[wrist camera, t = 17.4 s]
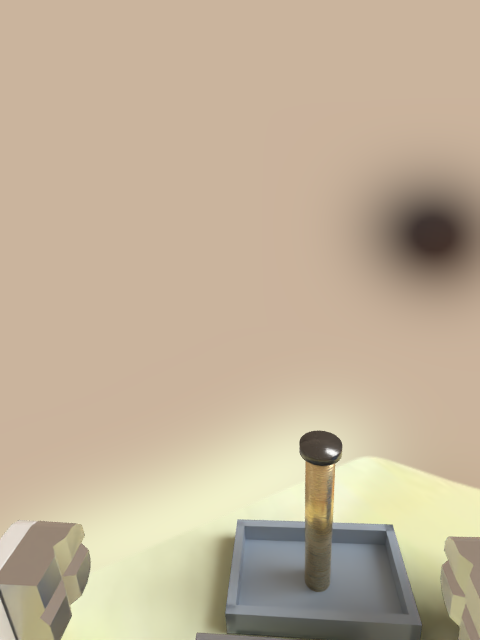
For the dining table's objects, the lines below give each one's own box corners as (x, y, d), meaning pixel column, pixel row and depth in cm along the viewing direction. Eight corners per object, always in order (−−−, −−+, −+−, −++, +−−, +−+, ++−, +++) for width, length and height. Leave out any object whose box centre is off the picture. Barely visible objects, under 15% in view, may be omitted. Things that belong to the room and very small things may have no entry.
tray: (227, 633, 36) (225, 613, 36) (238, 537, 46) (237, 519, 45) (419, 645, 35) (422, 625, 34) (390, 543, 44) (392, 524, 43)
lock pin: (299, 596, 38) (300, 457, 33) (298, 562, 42) (298, 430, 36) (337, 598, 38) (345, 458, 32) (333, 564, 41) (339, 430, 35)
